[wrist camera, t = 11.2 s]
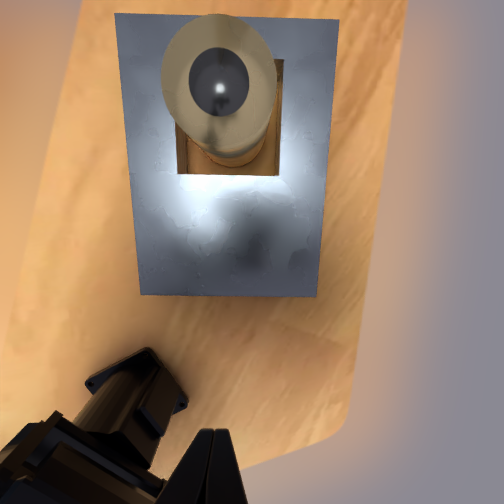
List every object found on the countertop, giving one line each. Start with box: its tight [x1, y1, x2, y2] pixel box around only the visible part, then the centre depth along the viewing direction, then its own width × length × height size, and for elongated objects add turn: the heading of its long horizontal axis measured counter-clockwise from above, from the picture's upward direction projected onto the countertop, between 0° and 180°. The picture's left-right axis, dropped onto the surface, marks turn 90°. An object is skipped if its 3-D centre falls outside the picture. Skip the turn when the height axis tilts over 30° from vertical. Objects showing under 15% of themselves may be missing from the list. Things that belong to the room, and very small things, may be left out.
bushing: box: [161, 14, 277, 167], centre depth 13 cm, size 5×5×7 cm
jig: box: [114, 13, 339, 297], centre depth 16 cm, size 16×12×2 cm
